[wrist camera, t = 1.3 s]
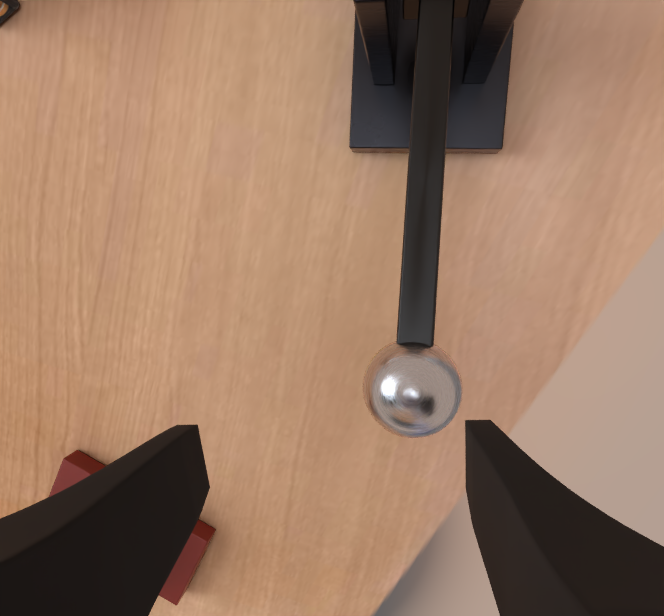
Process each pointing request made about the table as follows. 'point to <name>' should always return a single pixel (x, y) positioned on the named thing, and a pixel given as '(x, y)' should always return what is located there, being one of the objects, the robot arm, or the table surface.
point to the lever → (421, 247)
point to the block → (191, 555)
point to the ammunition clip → (7, 8)
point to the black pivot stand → (398, 77)
